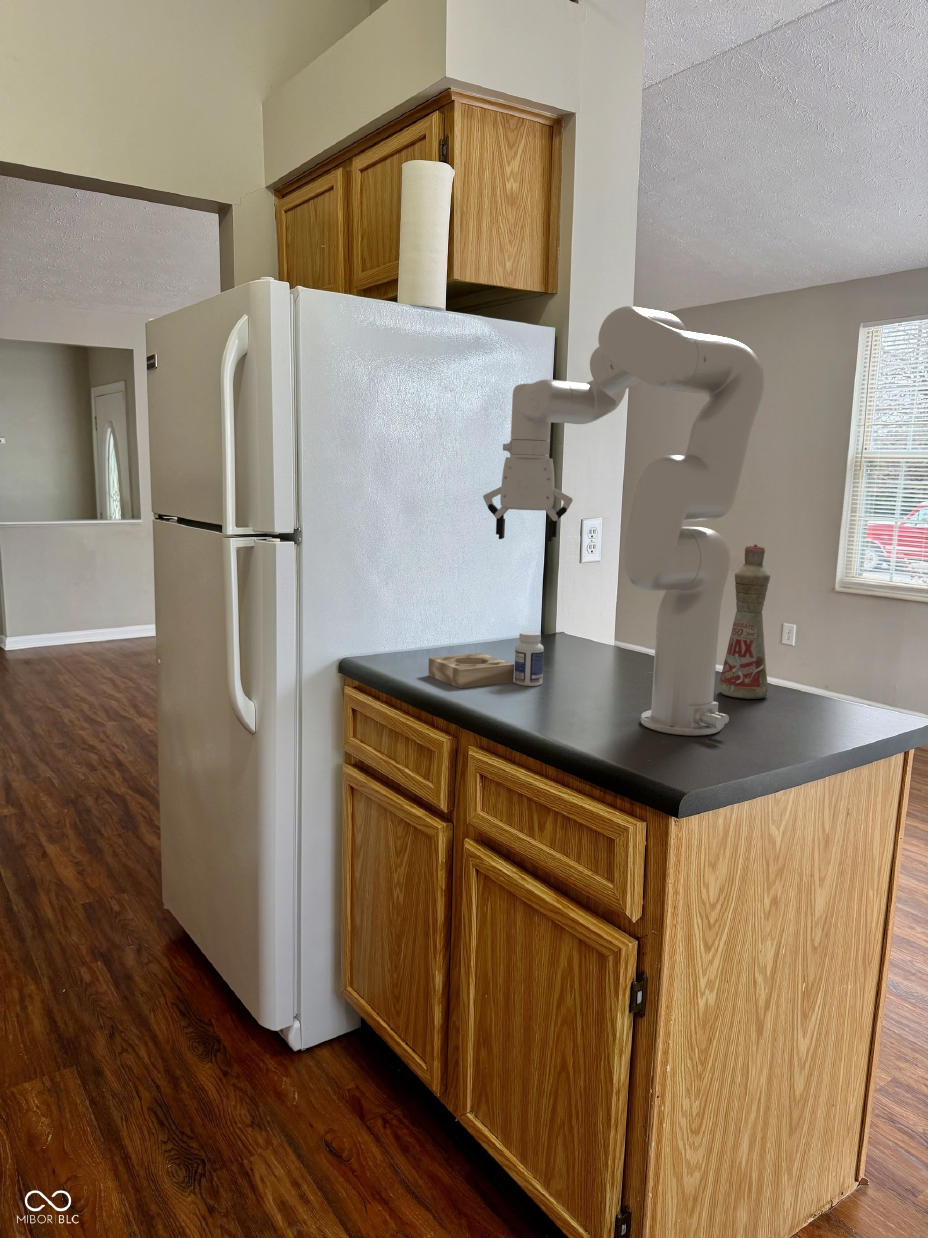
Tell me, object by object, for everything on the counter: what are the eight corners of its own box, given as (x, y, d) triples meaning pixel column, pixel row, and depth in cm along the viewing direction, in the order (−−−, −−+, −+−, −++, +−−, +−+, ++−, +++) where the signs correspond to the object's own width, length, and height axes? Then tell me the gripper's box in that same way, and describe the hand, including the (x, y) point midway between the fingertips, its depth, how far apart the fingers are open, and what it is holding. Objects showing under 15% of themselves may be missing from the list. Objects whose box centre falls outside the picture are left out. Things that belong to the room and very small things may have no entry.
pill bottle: (542, 681, 170) (544, 631, 169) (542, 687, 165) (544, 636, 163) (514, 679, 171) (516, 630, 169) (513, 686, 165) (515, 634, 164)
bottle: (779, 697, 162) (792, 545, 157) (745, 703, 157) (757, 546, 152) (741, 687, 169) (753, 541, 164) (708, 692, 164) (719, 542, 160)
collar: (513, 682, 168) (514, 664, 168) (459, 688, 162) (460, 669, 162) (480, 669, 179) (480, 652, 178) (428, 675, 172) (428, 657, 172)
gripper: (482, 448, 167) (478, 539, 169) (573, 451, 164) (569, 543, 166) (488, 449, 174) (485, 536, 177) (576, 452, 171) (571, 540, 174)
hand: (525, 539), depth 172 cm, fingers open, 9 cm apart
